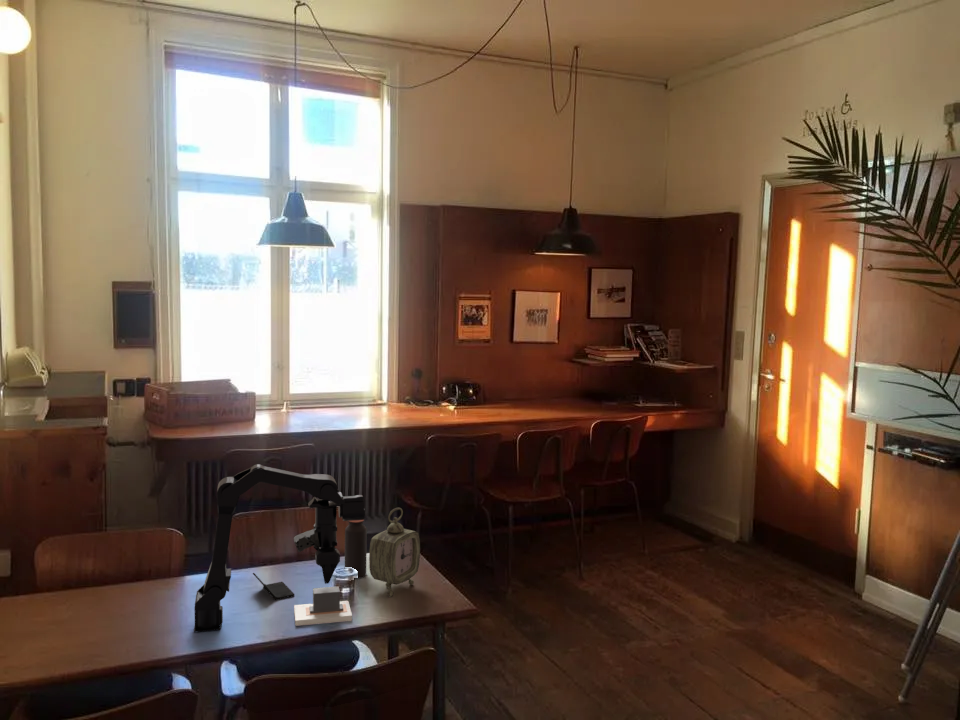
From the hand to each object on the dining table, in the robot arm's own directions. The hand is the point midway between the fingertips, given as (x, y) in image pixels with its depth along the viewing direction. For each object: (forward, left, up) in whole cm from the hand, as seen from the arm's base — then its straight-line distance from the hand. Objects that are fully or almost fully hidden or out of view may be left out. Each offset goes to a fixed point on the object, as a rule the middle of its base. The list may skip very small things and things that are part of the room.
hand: (325, 576), depth 213 cm
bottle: (+11, +27, -11) cm, 32 cm away
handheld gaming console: (-14, +18, -11) cm, 26 cm away
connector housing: (0, 0, -9) cm, 9 cm away
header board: (-1, 0, -11) cm, 11 cm away
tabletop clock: (+21, +14, -11) cm, 28 cm away
